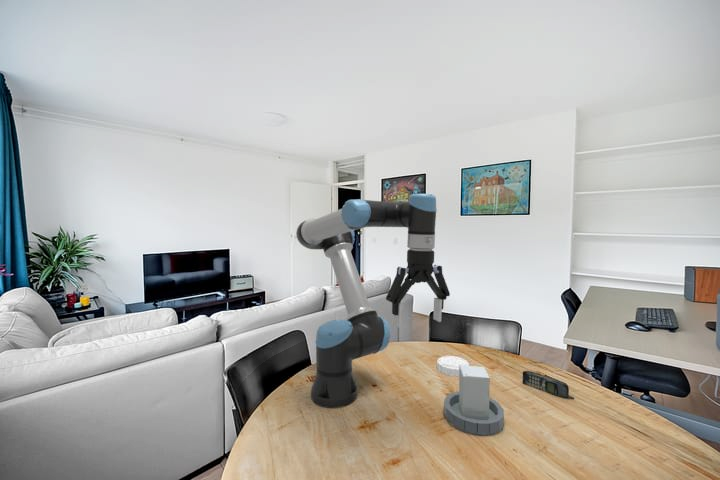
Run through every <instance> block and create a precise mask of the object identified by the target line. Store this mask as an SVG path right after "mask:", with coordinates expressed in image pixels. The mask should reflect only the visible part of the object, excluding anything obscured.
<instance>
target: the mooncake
mask: <svg viewBox="0 0 720 480" xmlns="http://www.w3.org/2000/svg"><path fill="white" fill-rule="evenodd" d="M460 365H463V366H470V364H469V361H467V360H466V359H464V358H461V357H460V356H455V355H444V356H440V357H438V359H437V360H436V369H437V370H438V372H440V373H442V374H443V375H446V376H450V377H456V378H459V366H460Z"/></svg>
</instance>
